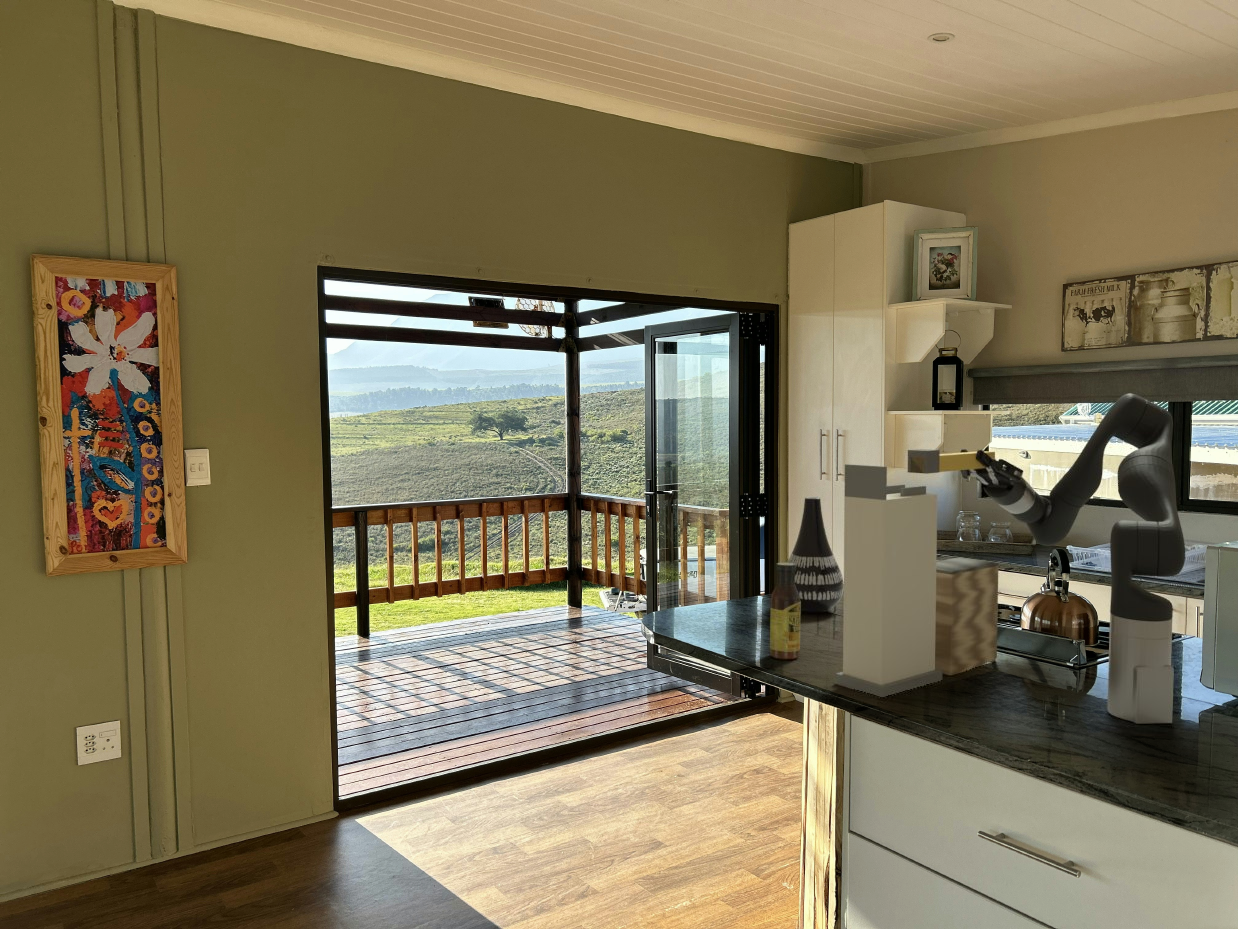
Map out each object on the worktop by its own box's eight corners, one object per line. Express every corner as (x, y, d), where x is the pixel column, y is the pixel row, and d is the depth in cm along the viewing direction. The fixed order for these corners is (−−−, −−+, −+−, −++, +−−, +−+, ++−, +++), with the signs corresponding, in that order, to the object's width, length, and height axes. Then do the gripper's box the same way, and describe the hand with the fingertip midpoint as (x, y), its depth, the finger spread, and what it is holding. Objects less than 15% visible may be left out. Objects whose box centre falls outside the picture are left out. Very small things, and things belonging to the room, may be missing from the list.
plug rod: (926, 473, 178) (927, 450, 177) (907, 472, 181) (907, 450, 181) (997, 467, 192) (997, 446, 191) (978, 466, 195) (978, 445, 195)
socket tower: (882, 698, 168) (885, 467, 165) (835, 683, 176) (837, 464, 174) (942, 680, 178) (945, 463, 175) (895, 667, 187) (897, 460, 184)
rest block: (950, 675, 181) (951, 571, 180) (911, 665, 188) (912, 565, 187) (996, 661, 191) (998, 562, 189) (958, 652, 198) (959, 557, 197)
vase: (779, 604, 247) (780, 494, 245) (840, 605, 245) (841, 494, 243) (781, 617, 231) (782, 500, 229) (846, 619, 229) (847, 501, 227)
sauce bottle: (793, 662, 191) (793, 567, 190) (765, 658, 195) (765, 564, 193) (804, 655, 197) (805, 562, 196) (777, 651, 200) (777, 560, 199)
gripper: (985, 473, 205) (945, 436, 196) (1046, 476, 194) (1007, 438, 185) (975, 503, 204) (934, 467, 194) (1036, 508, 192) (995, 471, 183)
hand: (970, 453), depth 189 cm, fingers closed on plug rod, 3 cm apart
